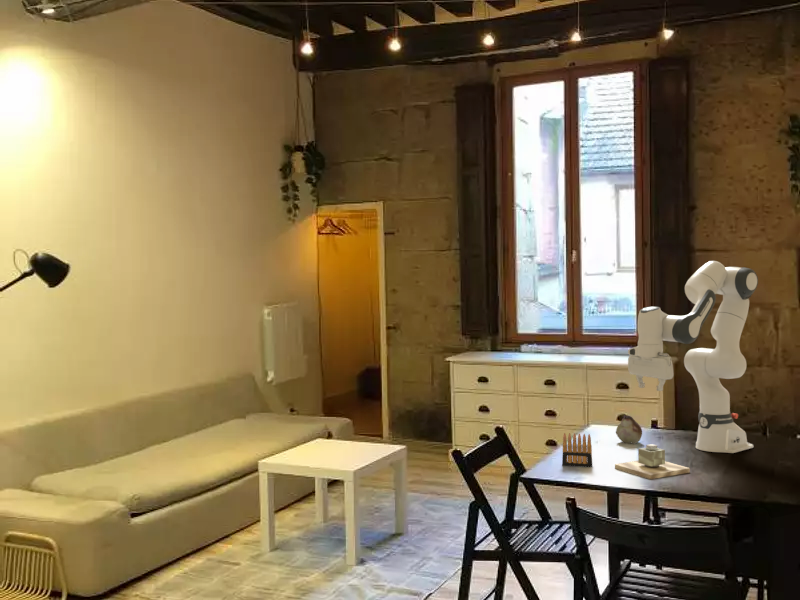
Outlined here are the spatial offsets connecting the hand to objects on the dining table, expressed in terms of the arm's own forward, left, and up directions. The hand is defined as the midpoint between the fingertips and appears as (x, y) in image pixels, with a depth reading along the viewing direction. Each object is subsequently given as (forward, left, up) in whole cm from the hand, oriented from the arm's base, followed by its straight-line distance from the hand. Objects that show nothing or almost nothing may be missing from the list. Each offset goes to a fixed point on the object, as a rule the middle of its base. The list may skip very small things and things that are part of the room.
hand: (650, 389), depth 319 cm
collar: (+8, +9, -25) cm, 27 cm away
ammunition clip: (+26, -10, -27) cm, 39 cm away
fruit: (-16, -30, -27) cm, 44 cm away
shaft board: (+8, +9, -27) cm, 30 cm away
